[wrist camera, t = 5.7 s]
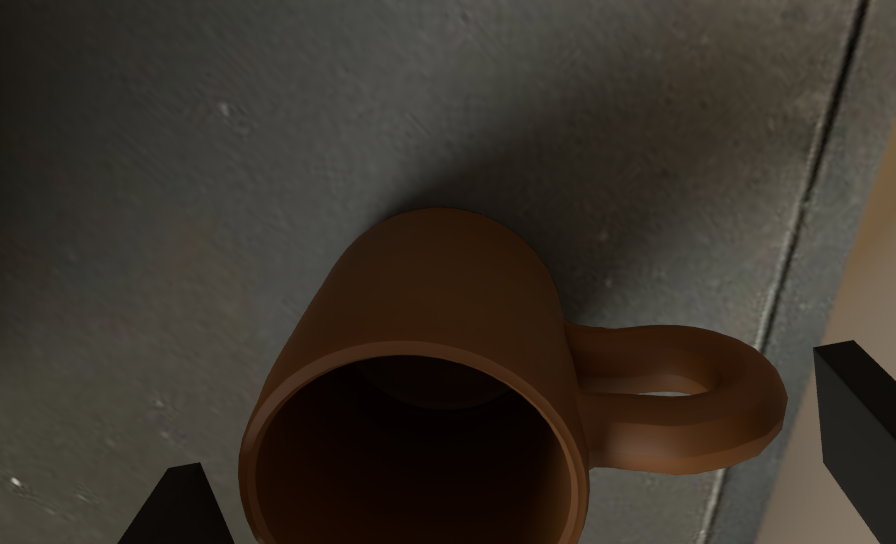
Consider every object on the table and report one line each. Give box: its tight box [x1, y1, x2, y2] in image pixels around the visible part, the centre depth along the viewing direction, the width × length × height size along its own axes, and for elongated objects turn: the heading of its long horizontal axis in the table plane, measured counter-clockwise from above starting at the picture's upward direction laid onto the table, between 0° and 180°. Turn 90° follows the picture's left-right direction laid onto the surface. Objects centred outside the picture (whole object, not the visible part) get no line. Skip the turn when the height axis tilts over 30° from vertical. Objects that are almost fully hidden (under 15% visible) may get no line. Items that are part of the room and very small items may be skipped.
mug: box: [238, 208, 788, 544], centre depth 19 cm, size 12×8×9 cm, turn 101°
